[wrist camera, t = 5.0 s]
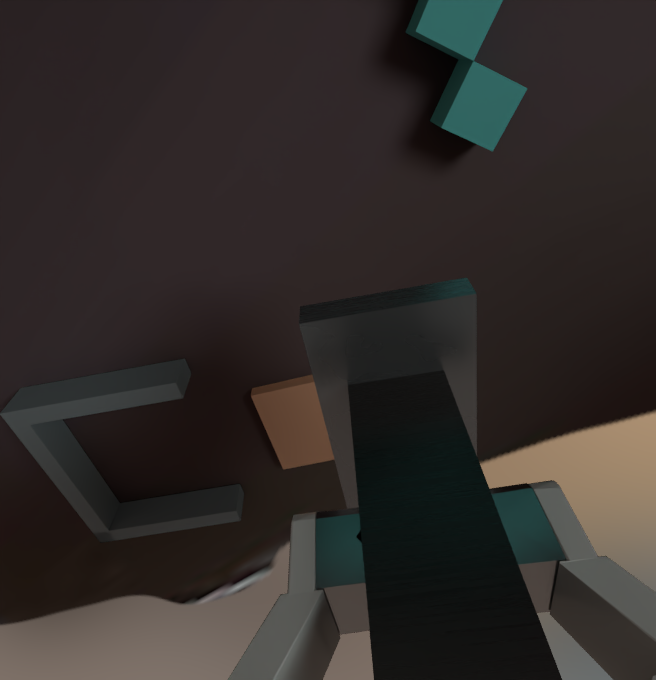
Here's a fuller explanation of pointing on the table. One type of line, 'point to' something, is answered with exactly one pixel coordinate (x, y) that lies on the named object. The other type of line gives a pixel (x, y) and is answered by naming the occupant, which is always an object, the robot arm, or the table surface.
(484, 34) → the teal pixel invader
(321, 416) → the tile
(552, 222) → the table surface
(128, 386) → the bay
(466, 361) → the stepped dark grey block
